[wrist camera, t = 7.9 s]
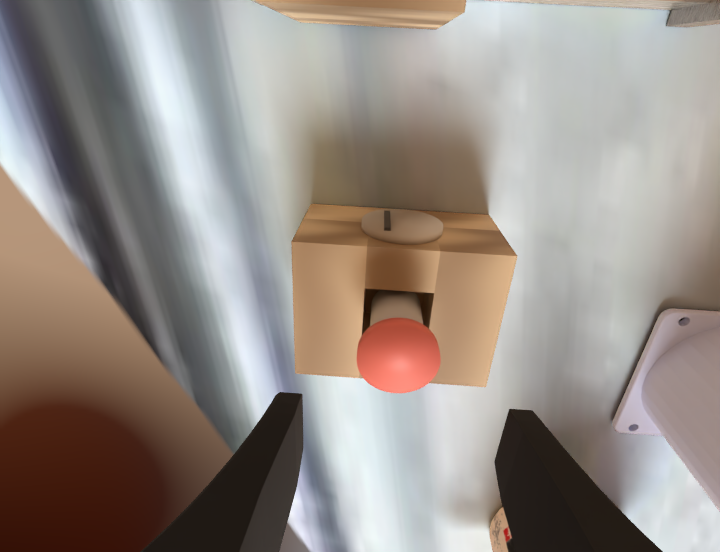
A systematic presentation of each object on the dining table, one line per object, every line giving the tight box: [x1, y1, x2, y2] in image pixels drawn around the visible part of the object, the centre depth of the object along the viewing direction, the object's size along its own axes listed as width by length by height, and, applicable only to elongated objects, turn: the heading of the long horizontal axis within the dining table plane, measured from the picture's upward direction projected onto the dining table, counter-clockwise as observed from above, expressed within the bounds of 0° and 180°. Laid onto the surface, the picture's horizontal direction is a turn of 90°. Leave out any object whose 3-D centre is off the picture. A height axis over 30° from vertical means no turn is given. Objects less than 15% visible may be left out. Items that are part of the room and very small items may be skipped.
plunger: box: [357, 290, 441, 393], centre depth 16 cm, size 3×3×4 cm
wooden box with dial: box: [292, 204, 517, 387], centre depth 18 cm, size 8×6×4 cm
